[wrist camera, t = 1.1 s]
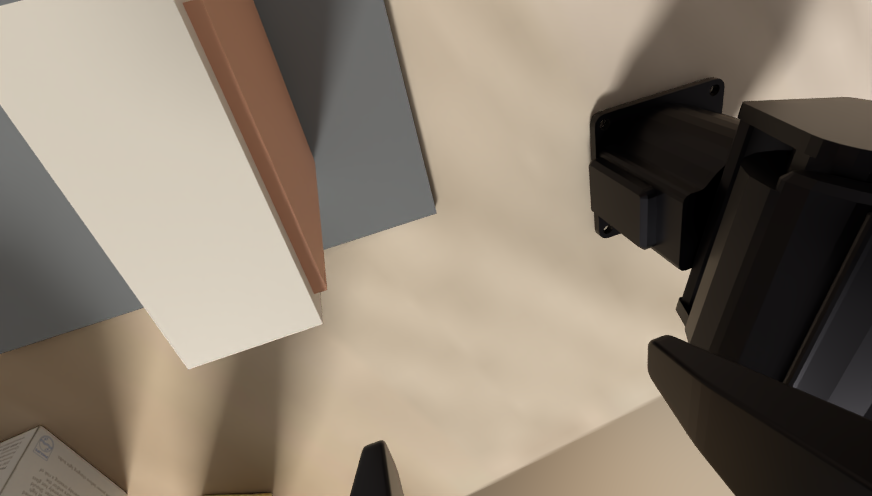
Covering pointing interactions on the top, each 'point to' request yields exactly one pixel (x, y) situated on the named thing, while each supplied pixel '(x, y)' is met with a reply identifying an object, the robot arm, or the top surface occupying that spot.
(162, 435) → the top surface
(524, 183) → the top surface
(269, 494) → the candy box
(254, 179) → the ivory tile
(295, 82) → the rubber mat
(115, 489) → the light bulb box
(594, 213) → the robot arm
